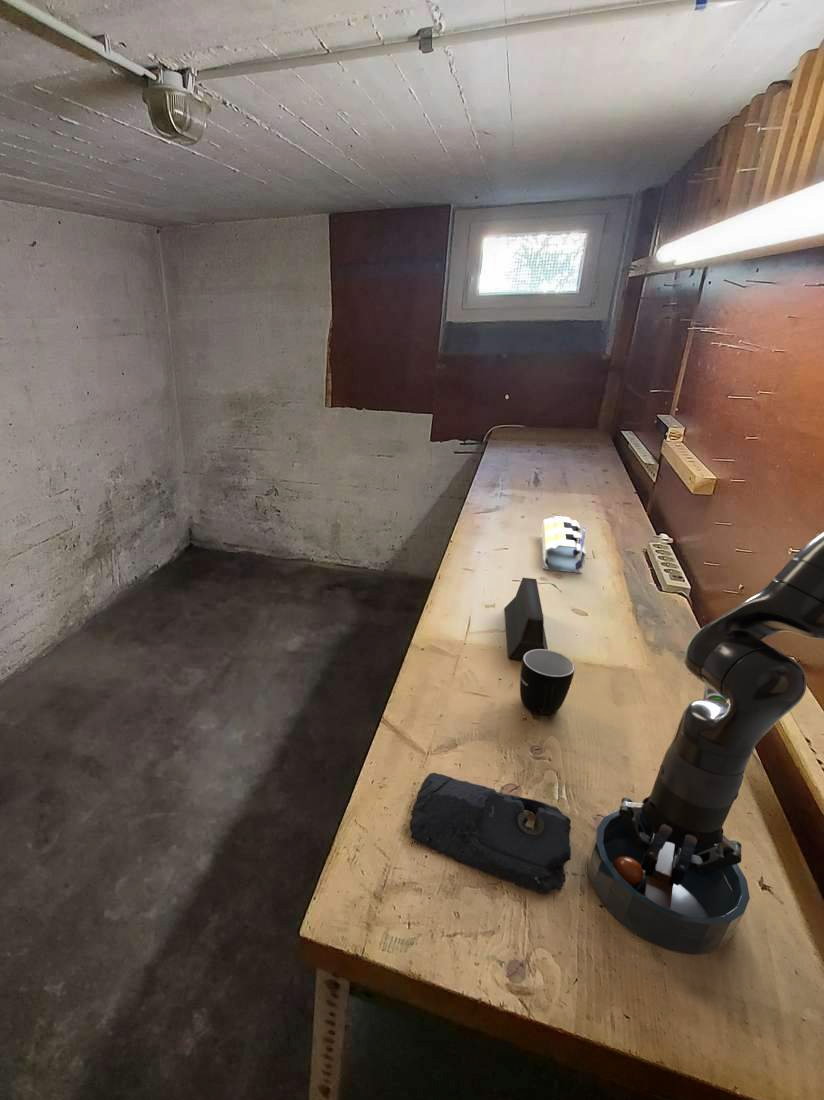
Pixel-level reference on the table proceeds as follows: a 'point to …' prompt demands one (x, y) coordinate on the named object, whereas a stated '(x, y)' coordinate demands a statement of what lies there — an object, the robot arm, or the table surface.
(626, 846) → the bowl
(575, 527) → the diorama
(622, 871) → the bead
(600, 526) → the table surface
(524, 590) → the barrier
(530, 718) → the table surface
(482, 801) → the dark slate chunk
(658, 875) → the dark brown wooden bar
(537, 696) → the mug
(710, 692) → the mechanical component
